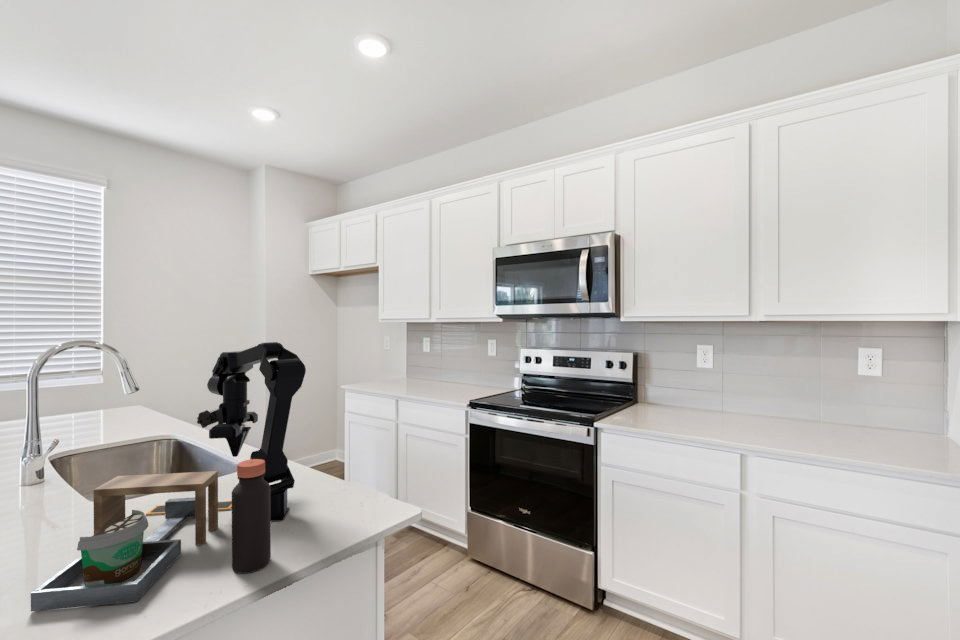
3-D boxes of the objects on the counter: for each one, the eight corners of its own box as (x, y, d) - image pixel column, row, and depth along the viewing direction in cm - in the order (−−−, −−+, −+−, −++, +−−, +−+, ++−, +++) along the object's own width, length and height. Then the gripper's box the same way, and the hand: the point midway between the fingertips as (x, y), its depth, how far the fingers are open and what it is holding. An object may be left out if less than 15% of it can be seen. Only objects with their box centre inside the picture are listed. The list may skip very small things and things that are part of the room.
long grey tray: (219, 512, 112) (219, 495, 112) (136, 601, 77) (136, 578, 77) (149, 516, 110) (149, 500, 109) (30, 611, 74) (30, 587, 74)
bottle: (246, 554, 93) (246, 456, 93) (277, 556, 92) (277, 458, 92) (223, 572, 86) (223, 467, 86) (256, 575, 85) (256, 469, 85)
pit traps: (236, 502, 119) (236, 500, 119) (229, 510, 114) (229, 508, 114) (156, 507, 116) (156, 505, 116) (145, 515, 111) (145, 513, 111)
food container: (111, 597, 79) (110, 539, 79) (77, 595, 79) (76, 538, 79) (164, 559, 91) (163, 509, 91) (134, 558, 91) (134, 508, 91)
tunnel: (218, 527, 105) (217, 471, 105) (203, 544, 97) (202, 483, 97) (117, 534, 101) (117, 476, 101) (93, 552, 93) (93, 489, 93)
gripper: (216, 393, 130) (216, 447, 130) (185, 405, 111) (186, 469, 111) (258, 392, 132) (258, 445, 132) (234, 404, 113) (235, 467, 113)
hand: (235, 456), depth 122 cm, fingers closed
